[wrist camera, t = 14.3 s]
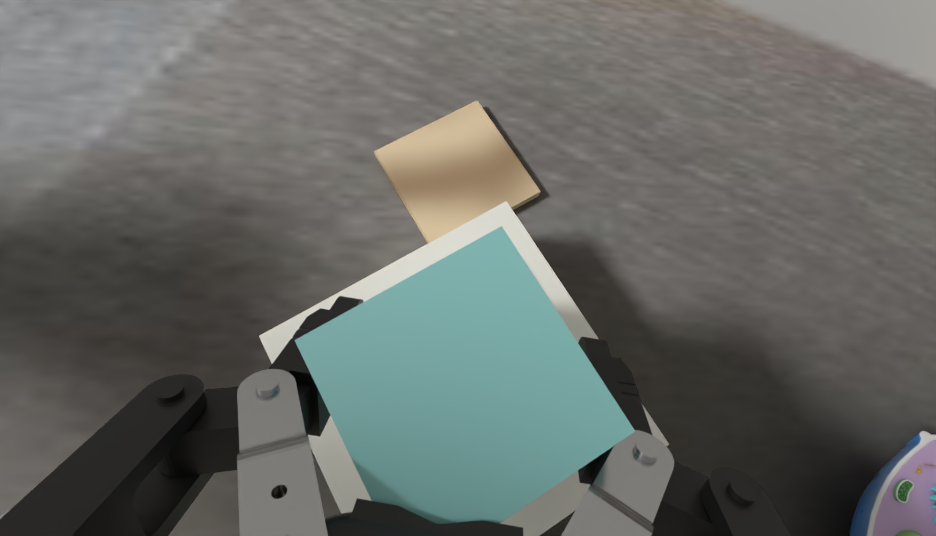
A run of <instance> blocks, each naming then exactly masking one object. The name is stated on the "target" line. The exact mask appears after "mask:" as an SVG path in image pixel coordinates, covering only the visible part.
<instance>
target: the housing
mask: <svg viewBox="0 0 936 536" xmlns="http://www.w3.org/2000/svg"><path fill="white" fill-rule="evenodd" d="M501 226H502V227H503V229H504V230H505V232H506V233H507V235H508V236H509V238H510V240H511V241H512V243H513V244H514V246H515V247H516V249H517V250H518V252H519V253H520V255H521V256H522V258H523V259H524V261H525V263H526V264H527V266H528V267H529V269H530V270H531V272H532V273H533V275H534V276H535V278H536V279H537V281H538V283H539V284H540V286H541V287H542V289H543V290H544V292H545V293H546V295H547V296H548V298H549V299H550V301H551V302H552V304H553V306H554V307H555V309H556V310H557V312H558V313H559V315H560V316H561V318H562V319H563V321H564V322H565V324H566V326H567V327H568V329H569V330H570V332H571V333H572V335H573V336H574V338H575V339H576V341H577V342H579V340H580V338H581V337H588V338H594V339H598V337H597V336H596V334H595V333H594V331H593V330H592V328H591V327H590V325H589V324H588V322H587V321H586V319H585V318H584V316H583V315H582V313H581V312H580V310H579V309H578V307H577V306H576V304H575V303H574V301H573V300H572V298H571V297H570V295H569V294H568V292H567V291H566V289H565V288H564V286H563V285H562V283H561V282H560V280H559V279H558V277H557V276H556V274H555V273H554V271H553V270H552V268H551V267H550V265H549V264H548V262H547V261H546V259H545V258H544V256H543V255H542V253H541V252H540V250H539V249H538V247H537V246H536V244H535V243H534V241H533V240H532V238H531V237H530V235H529V234H528V232H527V231H526V229H525V228H524V226H523V225H522V223H521V222H520V220H519V219H518V217H517V216H516V214H515V213H514V211H513V210H512V209H511V207H510V206H509V204H508V203H507V201H505V202H504V203H502V204H500V205H498V206H496V207H494V208H493V209H491V210H489V211H487V212H485V213H483V214H482V215H480V216H478V217H476V218H474V219H472V220H471V221H469V222H467V223H465V224H463V225H461V226H460V227H458V228H456V229H454V230H452V231H450V232H449V233H447V234H445V235H443V236H441V237H439V238H438V239H436V240H434V241H432V242H430V243H428V244H427V245H425V246H423V247H421V248H419V249H417V250H416V251H414V252H412V253H410V254H408V255H406V256H405V257H403V258H401V259H399V260H397V261H395V262H394V263H392V264H390V265H388V266H386V267H384V268H383V269H381V270H379V271H377V272H375V273H373V274H372V275H370V276H368V277H366V278H364V279H362V280H361V281H359V282H357V283H355V284H353V285H351V286H350V287H348V288H346V289H344V290H342V291H340V292H339V293H337V294H335V295H333V296H331V297H329V298H328V299H326V300H324V301H322V302H320V303H318V304H317V305H315V306H313V307H311V308H309V309H307V310H306V311H304V312H302V313H300V314H298V315H296V316H295V317H293V318H291V319H289V320H287V321H285V322H284V323H282V324H280V325H278V326H276V327H274V328H273V329H271V330H269V331H267V332H265V333H263V334H262V335H260V336H259V337H260V340H261V342H262V344H263V346H264V348H265V350H266V353H267V355H268V357H269V359H270V361H271V363H272V364H273V362H274V361H275V360H276V358H277V357H278V355H279V354H280V353H281V351H282V350H283V349H284V347H285V346H286V345H287V343H288V342H289V341H290V339H291V338H293V335H294V334H295V332H296V331H297V330H298V329H299V327H300V326H301V324H302V323H303V322H304V320H305V319H306V317H307V316H309V315H310V314H312V313H314V312H315V311H317V310H318V309H320V308H321V309H327V310H330V308H331V307H332V305H333V304H334V302H335V301H336V299H337V298H338V297H339V296H344V297H350V298H356V299H362V300H363V302H365V301H367V300H368V299H370V298H372V297H374V296H376V295H378V294H379V293H381V292H383V291H385V290H387V289H388V288H390V287H392V286H394V285H396V284H397V283H399V282H401V281H403V280H405V279H407V278H408V277H410V276H412V275H414V274H416V273H417V272H419V271H421V270H423V269H425V268H426V267H428V266H430V265H432V264H434V263H436V262H437V261H439V260H441V259H443V258H445V257H446V256H448V255H450V254H452V253H454V252H455V251H457V250H459V249H461V248H463V247H465V246H466V245H468V244H470V243H472V242H474V241H475V240H477V239H479V238H481V237H483V236H484V235H486V234H488V233H490V232H492V231H494V230H495V229H497V228H499V227H501ZM642 405H643V404H642ZM643 408H644V411H645V414H646V417H647V420H648V423H649V426H650V429H651V432H652V435H653V436H654V437H656V438H658V439H659V440H660V441H661V442H663V443H664V444H665V445H666V446H668V445H669V443H668V442H667V440H666V439H665V437H664V436H663V434H662V433H661V431H660V430H659V428H658V427H657V425H656V424H655V422H654V421H653V419H652V418H651V416H650V415H649V413H648V412H647V410H646V409H645V407H644V406H643ZM308 438H309V442H310V447H311V449H312V452H313V454H314V456H315V458H316V460H317V462H318V464H319V467H320V469H321V471H322V473H323V475H324V477H325V479H326V482H327V484H328V486H329V488H330V490H331V492H332V495H333V497H334V499H335V501H336V503H337V505H338V507H339V510H340V512H341V514H342V513H347V512H352V511H353V508H354V505H355V502H356V499H357V498H358V499H364V500H369V501H372V500H371V498H370V496H369V494H368V492H367V490H366V488H365V486H364V484H363V482H362V480H361V477H360V475H359V473H358V471H357V469H356V467H355V465H354V463H353V461H352V459H351V457H350V455H349V453H348V450H347V448H346V446H345V444H344V442H343V440H342V438H341V436H340V434H339V432H338V430H337V428H336V426H335V423H334V421H333V419H332V417H331V415H330V417H329V419H328V422H327V424H326V426H325V428H324V430H323V432H322V434H321V436H320V437H319V436H313V435H308ZM589 486H590V484H584V483H580V481H579V474H578V471H576V472H575V473H573V474H572V475H570V476H569V477H567V478H566V479H564V480H563V481H561V482H560V483H559V484H557V485H556V486H554V487H553V488H551V489H550V490H548V491H547V492H545V493H544V494H542V495H541V496H539V497H538V498H537V499H535V500H534V501H532V502H531V503H529V504H528V505H526V506H525V507H523V508H522V509H520V510H519V511H517V512H516V513H514V514H513V515H512V516H510V517H509V518H507V519H506V520H504V521H503V522H501V523H500V524H506V525H511V526H517V527H523V536H540V535H541V534H543V533H544V532H545V531H547V530H548V529H550V528H551V527H553V526H554V525H555V524H557V523H558V522H560V521H561V520H562V519H564V518H565V517H567V516H568V515H570V514H571V513H572V512H574V511H575V510H576V509H577V507H578V505H579V504H580V502H581V500H582V498H583V497H584V495H585V493H586V491H587V490H588V488H589Z"/></svg>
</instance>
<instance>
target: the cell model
mask: <svg viewBox="0 0 936 536" xmlns="http://www.w3.org/2000/svg"><path fill="white" fill-rule="evenodd" d="M849 536H936V434H935V435H932V434H930V433H928V432H926V431H921V432H919V433H918V434H917V435H916V436H915V437H913V438H912V439H911V440H910V441H909V442H908V443H907V444H906V445H905V446H904V447H903V448H902V449H901V450H900V451H899V452H898V453H897V454H896V455H895V456H894V457H893V458H892V459H891V460H889V461H888V462H887V463H886V464H885V465H884V466H883V467H882V468H881V469H880V470H879V471H878V472H877V473H876V475H875V476H874V478H873V479H872V480H871V482H870V483H869V484H868V486H867V487H866V488H865V490H864V492H863V494H862V495H861V497H860V499H859V501H858V504H857V507H856V510H855V513H854V515H853V518H852V522H851V527H850V532H849Z"/></svg>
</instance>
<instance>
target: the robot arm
mask: <svg viewBox="0 0 936 536" xmlns="http://www.w3.org/2000/svg"><path fill="white" fill-rule="evenodd" d="M361 303H363V300H362V299H356V298H350V297H344V296H339V297H338V298H337V299H336V301H335V302H334V304H333V305H332V307H331V308H330V310H327V309H321V308H320V309H318V310H317V311H315V312H314V313H312V314H310V315H309V316H307V317H306V319H305V320H304V322H303V323H302V324H301V326H300V327H299V329H298V330H297V331H296V332H295V334H294V335H293V338H291V339H290V341H289V342H288V343H287V345H286V346H285V347H284V349H283V350H282V351H281V353H280V354H279V355H278V357H277V358H276V360H275V361H274V362H273V364H272V365H271V366H270V368H269V369H268V370H263V371H259V372H256V373H254V374H252V375H250V376H249V377H247V378H246V379H245V380H244V381H243V382H242V383H241V384H240V386H238V387H232V388H220V389H208V390H204V387H203V383H202V382H201V380H200V379H198V378H197V377H195V376H192V375H182V374H180V375H173V376H168V377H165V378H162V379H160V380H157V381H155V382H153V383H152V384H150V385H149V386H147V387H146V388H145V389H144V390H142V391H141V392H140V393H139V394H138V395H137V396H136V397H135V398H134V399H133V400H131V401H130V402H129V403H128V404H127V405H126V406H125V407H124V408H123V409H121V410H120V411H119V412H118V413H117V414H116V415H115V416H114V417H113V418H112V419H110V420H109V421H108V422H107V423H106V424H105V425H104V426H103V427H102V428H100V429H99V430H98V431H97V432H96V433H95V434H94V435H93V436H92V437H90V438H89V439H88V440H87V441H86V442H85V443H84V444H83V445H82V446H81V447H79V448H78V449H77V450H76V451H75V452H74V453H73V454H72V455H71V456H69V457H68V458H67V459H66V460H65V461H64V462H63V463H62V464H61V465H59V466H58V467H57V468H56V469H55V470H54V471H53V472H52V473H51V474H50V475H48V476H47V477H46V478H45V479H44V480H43V481H42V482H41V483H40V484H38V485H37V486H36V487H35V488H34V489H33V490H32V491H31V492H30V493H28V494H27V495H26V496H25V497H24V498H23V499H22V500H21V501H20V502H19V503H17V504H16V505H15V506H14V507H13V508H12V509H11V510H10V511H9V512H7V513H6V514H5V515H4V516H3V517H2V518H1V519H0V536H168V535H169V534H170V532H171V531H172V530H173V528H174V527H175V526H176V524H177V523H178V522H179V520H180V519H181V517H182V516H183V515H184V513H185V512H186V511H187V509H188V508H189V507H190V505H191V504H192V502H193V501H194V500H195V498H196V497H197V496H198V494H199V493H200V492H201V490H202V489H203V487H204V486H205V485H206V483H207V482H208V481H209V479H210V478H211V477H212V475H213V474H214V473H216V472H223V471H231V470H237V471H238V498H239V526H240V536H523V527H517V526H511V525H506V524H500V523H494V522H489V521H483V520H481V521H469V522H458V523H447V524H437V523H434V522H432V521H430V520H428V519H425V518H423V517H421V516H419V515H417V514H415V513H413V512H410V511H408V510H406V509H404V508H402V507H400V506H398V505H392V504H386V503H381V502H375V501H369V500H364V499H358V498H357V499H356V502H355V505H354V508H353V511H352V512H347V513H342V514H337V515H333V516H330V517H327V518H324V513H323V508H322V503H321V498H320V493H319V488H318V482H317V477H316V472H315V467H314V462H313V457H312V452H311V447H310V442H309V438H308V435H313V436H319V437H320V436H321V434H322V432H323V430H324V428H325V426H326V424H327V422H328V419H329V417H330V413H329V411H328V409H327V407H326V405H325V403H324V401H323V398H322V396H321V394H320V392H319V390H318V388H317V386H316V384H315V382H314V380H313V378H312V376H311V374H310V371H309V369H308V367H307V365H306V363H305V361H304V359H303V357H302V355H301V353H300V351H299V349H298V347H297V344H296V342H295V340H296V339H298V338H300V337H301V336H303V335H305V334H307V333H309V332H310V331H312V330H314V329H316V328H318V327H320V326H321V325H323V324H325V323H327V322H329V321H330V320H332V319H334V318H336V317H338V316H339V315H341V314H343V313H345V312H347V311H349V310H350V309H352V308H354V307H356V306H358V305H359V304H361ZM578 344H579V345H580V347H581V349H582V350H583V352H584V353H585V355H586V356H587V358H588V359H589V361H590V362H591V364H592V365H593V367H594V369H595V370H596V372H597V373H598V375H599V376H600V378H601V379H602V381H603V382H604V384H605V385H606V387H607V389H608V390H609V392H610V393H611V395H612V396H613V398H614V399H615V401H616V402H617V404H618V405H619V407H620V408H621V410H622V412H623V413H624V415H625V416H626V418H627V419H628V421H629V422H630V424H631V425H632V427H633V428H634V430H635V432H634V433H632V434H631V435H629V436H628V437H626V438H625V439H623V440H622V441H620V442H619V443H617V444H616V445H614V446H613V447H611V448H610V449H609V450H607V451H606V452H604V453H603V454H601V455H600V456H598V457H597V458H595V459H594V460H592V461H591V462H589V463H588V464H586V465H585V466H584V467H582V468H581V469H579V470H578V474H579V481H580V483H584V484H590V486H589V488H588V490H587V491H586V493H585V495H584V497H583V498H582V500H581V502H580V504H579V505H578V507H577V509H576V511H575V512H574V514H573V516H572V518H571V519H570V521H569V523H568V525H567V526H566V528H565V530H564V532H563V533H562V535H561V536H791V535H790V533H789V531H788V530H787V528H786V526H785V524H784V523H783V521H782V519H781V518H780V516H779V514H778V512H777V511H776V509H775V507H774V505H773V504H772V502H771V500H770V499H769V497H768V495H767V494H766V493H765V491H764V490H763V489H762V488H761V487H760V486H759V485H758V484H757V483H756V482H755V481H753V480H752V479H751V478H749V477H748V476H746V475H744V474H743V473H741V472H738V471H736V470H733V469H729V468H718V469H715V470H714V471H712V473H711V474H710V475H709V477H707V476H705V475H703V474H700V473H698V472H696V471H694V470H691V469H689V468H687V467H684V466H682V465H680V464H679V463H677V462H675V461H674V459H673V456H672V454H671V452H670V451H669V449H668V448H667V447H666V445H665V444H664V443H663V442H661V441H660V440H659V439H658V438H656V437H654V436H653V435H652V432H651V429H650V426H649V423H648V420H647V417H646V414H645V411H644V408H643V405H642V402H641V399H640V397H639V394H638V391H637V388H636V387H635V382H634V379H633V376H632V373H631V371H630V370H629V368H628V367H627V366H626V365H625V364H624V362H623V361H622V360H621V359H618V358H612V357H611V355H610V351H609V348H608V345H607V342H606V341H605V340H600V339H594V338H588V337H581V338H580V340H579V342H578Z"/></svg>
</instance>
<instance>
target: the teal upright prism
mask: <svg viewBox="0 0 936 536" xmlns="http://www.w3.org/2000/svg"><path fill="white" fill-rule="evenodd" d="M295 342H296V344H297V347H298V349H299V351H300V353H301V355H302V357H303V359H304V361H305V363H306V365H307V367H308V369H309V371H310V374H311V376H312V378H313V380H314V382H315V384H316V386H317V388H318V390H319V392H320V394H321V396H322V398H323V401H324V403H325V405H326V407H327V409H328V411H329V413H330V415H331V417H332V419H333V421H334V423H335V426H336V428H337V430H338V432H339V434H340V436H341V438H342V440H343V442H344V444H345V446H346V448H347V450H348V453H349V455H350V457H351V459H352V461H353V463H354V465H355V467H356V469H357V471H358V473H359V475H360V477H361V480H362V482H363V484H364V486H365V488H366V490H367V492H368V494H369V496H370V498H371V500H372V501H375V502H381V503H386V504H392V505H398V506H400V507H402V508H404V509H406V510H408V511H410V512H413V513H415V514H417V515H419V516H421V517H423V518H425V519H428V520H430V521H432V522H434V523H437V524H447V523H458V522H469V521H481V520H483V521H489V522H494V523H501V522H503V521H504V520H506V519H507V518H509V517H510V516H512V515H513V514H514V513H516V512H517V511H519V510H520V509H522V508H523V507H525V506H526V505H528V504H529V503H531V502H532V501H534V500H535V499H537V498H538V497H539V496H541V495H542V494H544V493H545V492H547V491H548V490H550V489H551V488H553V487H554V486H556V485H557V484H559V483H560V482H561V481H563V480H564V479H566V478H567V477H569V476H570V475H572V474H573V473H575V472H576V471H578V470H579V469H581V468H582V467H584V466H585V465H586V464H588V463H589V462H591V461H592V460H594V459H595V458H597V457H598V456H600V455H601V454H603V453H604V452H606V451H607V450H609V449H610V448H611V447H613V446H614V445H616V444H617V443H619V442H620V441H622V440H623V439H625V438H626V437H628V436H629V435H631V434H632V433H634V432H635V430H634V428H633V427H632V425H631V424H630V422H629V421H628V419H627V418H626V416H625V415H624V413H623V412H622V410H621V408H620V407H619V405H618V404H617V402H616V401H615V399H614V398H613V396H612V395H611V393H610V392H609V390H608V389H607V387H606V385H605V384H604V382H603V381H602V379H601V378H600V376H599V375H598V373H597V372H596V370H595V369H594V367H593V365H592V364H591V362H590V361H589V359H588V358H587V356H586V355H585V353H584V352H583V350H582V349H581V347H580V345H579V344H578V342H577V341H576V339H575V338H574V336H573V335H572V333H571V332H570V330H569V329H568V327H567V326H566V324H565V322H564V321H563V319H562V318H561V316H560V315H559V313H558V312H557V310H556V309H555V307H554V306H553V304H552V302H551V301H550V299H549V298H548V296H547V295H546V293H545V292H544V290H543V289H542V287H541V286H540V284H539V283H538V281H537V279H536V278H535V276H534V275H533V273H532V272H531V270H530V269H529V267H528V266H527V264H526V263H525V261H524V259H523V258H522V256H521V255H520V253H519V252H518V250H517V249H516V247H515V246H514V244H513V243H512V241H511V240H510V238H509V236H508V235H507V233H506V232H505V230H504V229H503V227H502V226H501V227H499V228H497V229H495V230H494V231H492V232H490V233H488V234H486V235H484V236H483V237H481V238H479V239H477V240H475V241H474V242H472V243H470V244H468V245H466V246H465V247H463V248H461V249H459V250H457V251H455V252H454V253H452V254H450V255H448V256H446V257H445V258H443V259H441V260H439V261H437V262H436V263H434V264H432V265H430V266H428V267H426V268H425V269H423V270H421V271H419V272H417V273H416V274H414V275H412V276H410V277H408V278H407V279H405V280H403V281H401V282H399V283H397V284H396V285H394V286H392V287H390V288H388V289H387V290H385V291H383V292H381V293H379V294H378V295H376V296H374V297H372V298H370V299H368V300H367V301H365V302H363V303H361V304H359V305H358V306H356V307H354V308H352V309H350V310H349V311H347V312H345V313H343V314H341V315H339V316H338V317H336V318H334V319H332V320H330V321H329V322H327V323H325V324H323V325H321V326H320V327H318V328H316V329H314V330H312V331H310V332H309V333H307V334H305V335H303V336H301V337H300V338H298V339H296V340H295Z"/></svg>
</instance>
